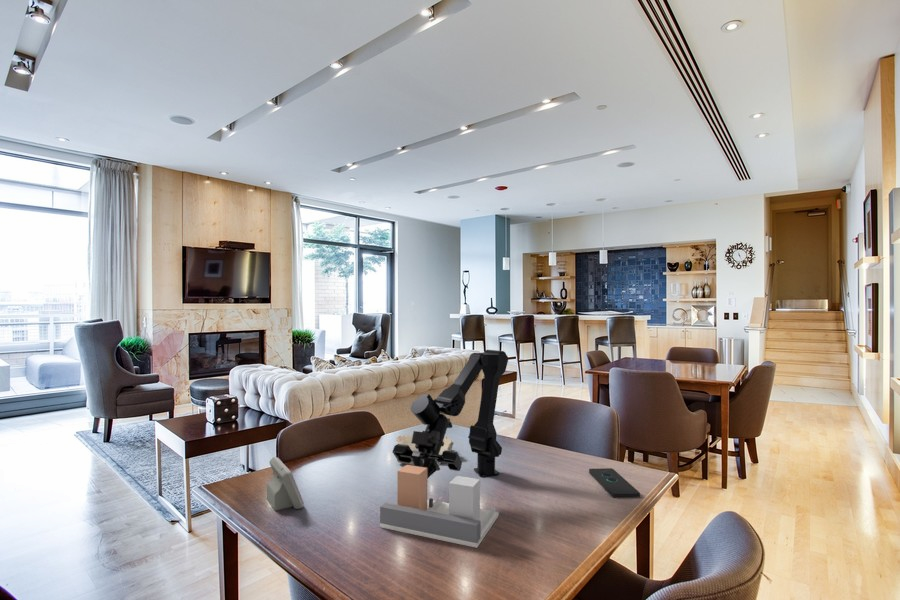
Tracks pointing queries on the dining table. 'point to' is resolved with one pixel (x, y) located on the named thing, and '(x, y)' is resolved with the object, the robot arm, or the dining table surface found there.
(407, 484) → the tall tan brick
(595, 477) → the smart home device
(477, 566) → the dining table surface
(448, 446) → the beige rock
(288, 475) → the digital clock
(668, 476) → the dining table surface
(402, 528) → the base
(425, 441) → the robot arm
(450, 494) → the tall white block
